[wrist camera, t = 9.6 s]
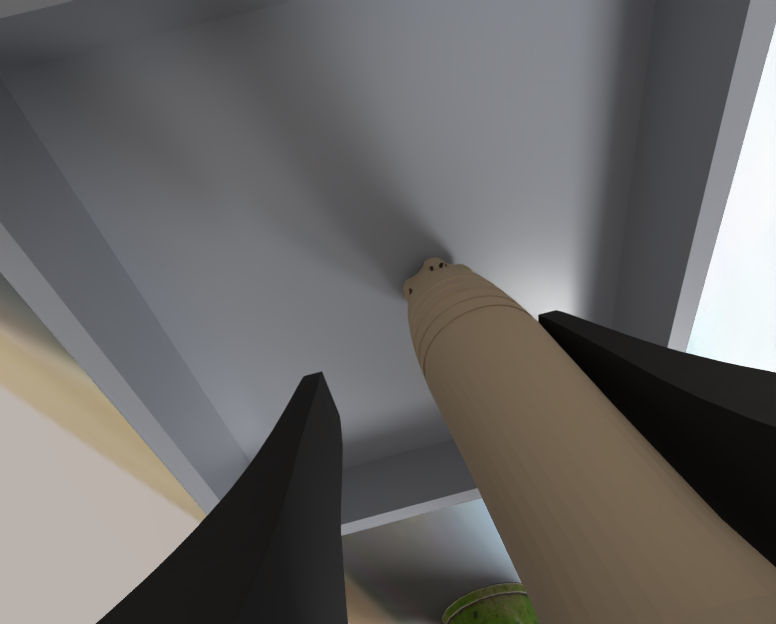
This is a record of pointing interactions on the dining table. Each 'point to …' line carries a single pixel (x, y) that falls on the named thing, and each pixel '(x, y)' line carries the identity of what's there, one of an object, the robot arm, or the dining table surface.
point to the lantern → (493, 606)
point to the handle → (573, 472)
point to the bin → (354, 199)
